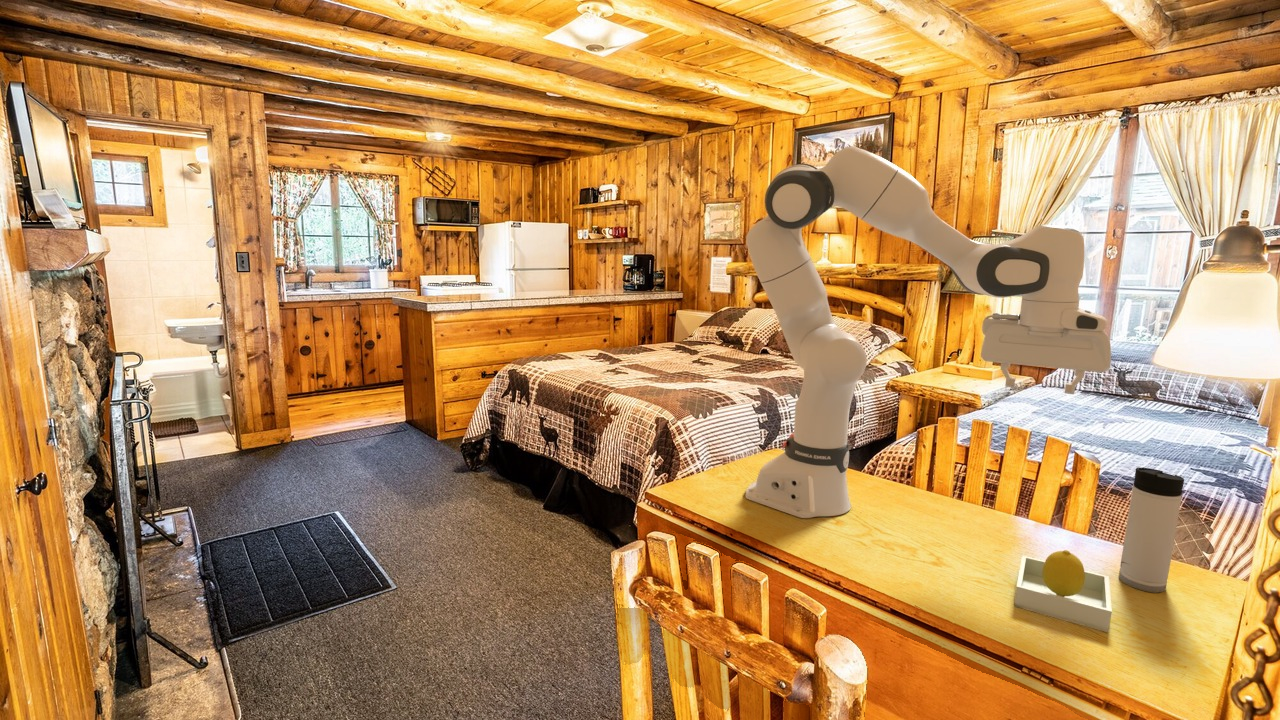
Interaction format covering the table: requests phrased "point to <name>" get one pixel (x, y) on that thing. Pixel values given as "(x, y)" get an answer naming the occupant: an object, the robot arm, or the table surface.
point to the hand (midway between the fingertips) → (1039, 389)
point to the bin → (1080, 608)
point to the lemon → (1063, 573)
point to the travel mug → (1151, 529)
